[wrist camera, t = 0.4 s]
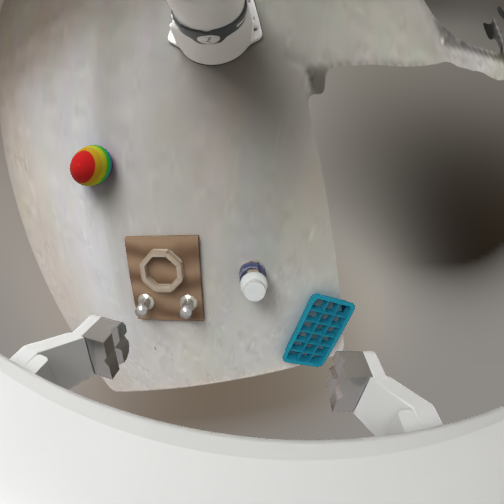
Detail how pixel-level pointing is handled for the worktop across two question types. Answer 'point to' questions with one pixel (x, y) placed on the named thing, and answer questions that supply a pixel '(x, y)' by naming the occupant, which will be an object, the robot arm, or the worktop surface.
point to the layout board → (165, 273)
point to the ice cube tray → (318, 331)
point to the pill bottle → (253, 280)
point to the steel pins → (148, 302)
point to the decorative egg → (91, 165)
